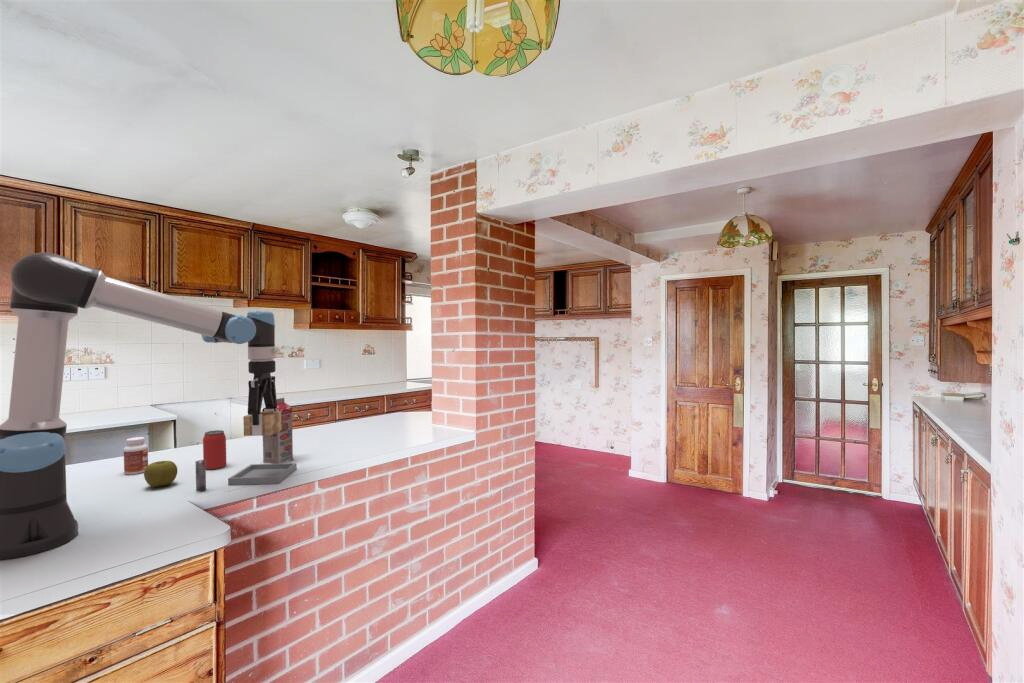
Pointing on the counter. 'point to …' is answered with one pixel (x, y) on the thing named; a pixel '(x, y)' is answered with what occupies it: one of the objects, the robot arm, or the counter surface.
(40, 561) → the counter surface
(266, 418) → the oak ring
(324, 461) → the counter surface
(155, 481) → the apple
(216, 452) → the beer can
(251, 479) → the tray
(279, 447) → the juice carton
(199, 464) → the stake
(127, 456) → the pill bottle
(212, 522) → the counter surface
